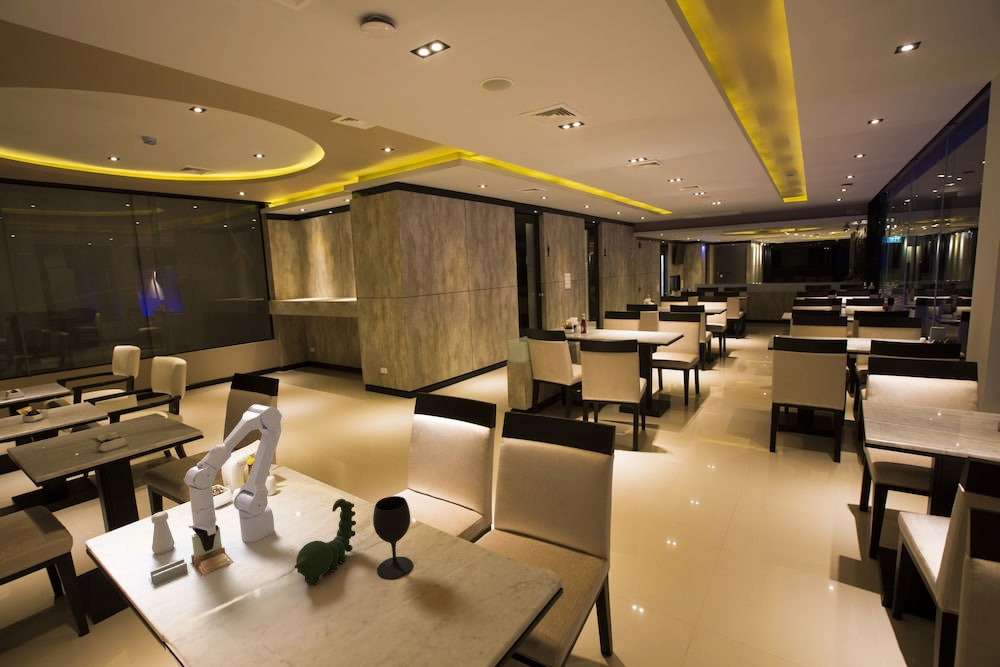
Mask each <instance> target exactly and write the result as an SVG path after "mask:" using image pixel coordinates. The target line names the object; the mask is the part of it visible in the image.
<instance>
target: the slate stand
mask: <svg viewBox="0 0 1000 667" xmlns="http://www.w3.org/2000/svg"><path fill="white" fill-rule="evenodd" d="M149 573H150V577H149V578H148V581H149V583H150V585H151V587H152V588H155V587H158V586H160V585H163V584H164V583H167V582H170V581H172V580H174V579H177V578H179V577H182V576H184V575H186V574H189V573H191V570H190V568H189V567H188V564H187V561H185V559H184V558H180V559H177V560H175V561H172V562H169V563H168V564H165V565H162V566H159V567H156V568H154V569H151V570H150V572H149Z"/></svg>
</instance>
